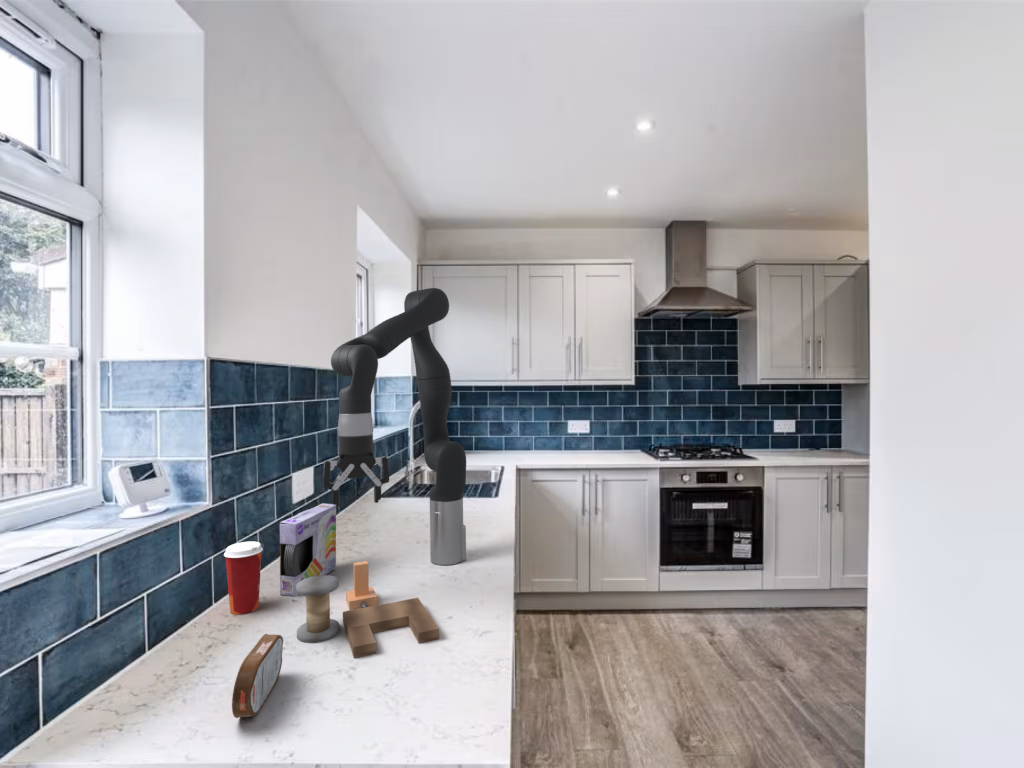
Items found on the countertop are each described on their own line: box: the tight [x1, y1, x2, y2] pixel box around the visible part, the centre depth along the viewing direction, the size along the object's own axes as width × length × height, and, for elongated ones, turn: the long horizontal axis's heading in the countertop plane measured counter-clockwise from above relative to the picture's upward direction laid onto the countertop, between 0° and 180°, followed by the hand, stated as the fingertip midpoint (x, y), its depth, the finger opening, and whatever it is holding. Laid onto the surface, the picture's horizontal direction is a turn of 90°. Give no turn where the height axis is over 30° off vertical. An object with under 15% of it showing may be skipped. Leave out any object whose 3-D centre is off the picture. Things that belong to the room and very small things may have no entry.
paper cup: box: [223, 541, 264, 616], centre depth 115 cm, size 8×8×14 cm
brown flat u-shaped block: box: [342, 597, 440, 659], centre depth 105 cm, size 16×16×2 cm
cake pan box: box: [279, 503, 337, 597], centre depth 130 cm, size 19×5×18 cm, turn 168°
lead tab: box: [345, 560, 378, 611], centre depth 116 cm, size 6×10×9 cm, turn 25°
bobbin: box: [296, 574, 341, 644], centre depth 104 cm, size 8×8×10 cm
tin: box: [231, 633, 284, 719], centre depth 82 cm, size 15×3×8 cm, turn 6°
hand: (357, 504), depth 118 cm, fingers open, 8 cm apart
